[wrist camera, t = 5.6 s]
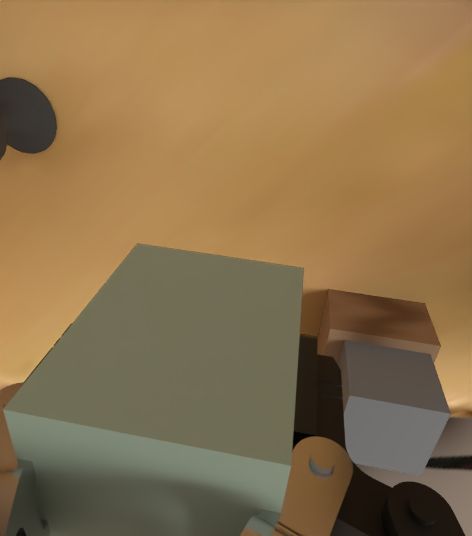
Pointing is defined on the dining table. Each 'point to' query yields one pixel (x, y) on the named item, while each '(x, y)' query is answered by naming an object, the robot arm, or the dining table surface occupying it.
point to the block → (167, 399)
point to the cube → (391, 406)
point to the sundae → (25, 117)
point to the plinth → (375, 324)
